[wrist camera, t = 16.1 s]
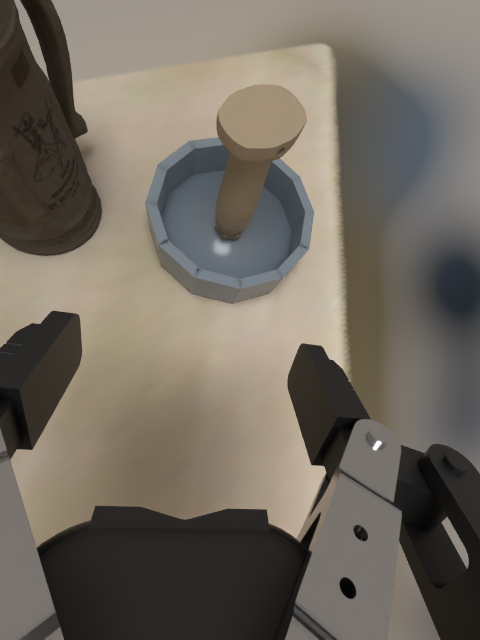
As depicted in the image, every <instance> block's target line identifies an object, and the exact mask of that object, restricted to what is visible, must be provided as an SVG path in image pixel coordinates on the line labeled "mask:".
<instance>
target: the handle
mask: <svg viewBox="0 0 480 640" xmlns="http://www.w3.org/2000/svg"><path fill="white" fill-rule="evenodd" d="M306 121H307V118H306V113H305V110H304V108H303V106H302V105H301V103H300V102H299V100H298V99H297V98H296V97H295V96H294V95H293V94H292V93H291V92H290V91H288V90H287V89H285V88H283V87H281V86H277V85H253V86H250V87H247V88H244V89H242V90H239V91H237V92H235V93H233V94H232V95H231V96H229V97H228V98H227V100H226V101H225V102H224V103H223V105H222V106H221V107H220V109H219V110H218V115H217V133H218V136H219V139H220V141H221V142H222V144H223V145H224V147H225V148H226V149H227V150H228V151H229V152H230V155H229V159H228V162H227V166H226V169H225V173H224V176H223V179H222V182H221V186H220V189H219V192H218V197H217V202H216V211H215V219H216V222H215V231H216V232H218V233H219V235H220V238H221V239H223V240H226V239H232V240H237V239H238V238H239V237H240V236H241V232H243V230H244V229H245V228H246V227H247V225H248V223H249V222H250V220H251V218H252V216H253V214H254V212H255V210H256V207H257V205H258V201H259V198H260V195H261V192H262V189H263V186H264V182H265V179H266V176H267V173H268V170H269V167H270V164H271V161H274V160H277V159H279V158H280V157H282V156H283V155H284V154H285V153H286V152H287V151H288V150H289V149H290V148H291V147H292V146H293V144H294V143H295V141H296V140H297V138H298V136H299V135H300V133H301V131H302V129H303V127H304V125H305V123H306Z"/></svg>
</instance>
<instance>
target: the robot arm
mask: <svg viewBox="0 0 480 640" xmlns="http://www.w3.org/2000/svg"><path fill="white" fill-rule="evenodd" d="M81 356H82V343H81V328H80V318H79V315H78V314H74V313H66V312H58V311H52V312H51V313H50V314H49V315H48V316H47V317H46V318H45V319H44V320H43V321H42V323H41V324H34V323H32V324H30V325H28V326H26V327H24V328H22V329H20V330H19V331H17V332H16V333H15V334H14V335H13V336H12V337H11V338H10V339H9V340H8V341H7V343H6V344H4V345H3V346H2V347H1V348H0V640H387V636H388V627H389V619H390V610H391V602H392V594H393V585H394V577H395V568H396V561H397V552H398V544H399V541H400V544H401V546H402V548H403V551H404V553H405V556H406V558H407V561H408V563H409V565H410V568H411V570H412V572H413V575H414V577H415V580H416V582H417V584H418V587H419V589H420V592H421V594H422V596H423V599H424V601H425V604H426V606H427V608H428V611H429V613H430V616H431V618H432V620H433V623H434V625H435V628H436V630H437V632H438V635H439V637H440V639H441V640H480V474H479V472H478V471H477V470H476V468H475V467H474V466H473V465H472V463H471V462H470V461H469V460H468V459H467V458H465V457H464V456H463V455H462V454H460V453H459V452H457V451H456V450H454V449H452V448H450V447H448V446H445V445H441V444H433V445H431V446H430V447H429V449H428V450H427V451H426V452H425V453H422V452H419V451H416V450H414V449H411V448H408V447H405V446H402V445H400V443H399V441H398V439H397V438H396V436H395V435H394V434H393V433H392V432H391V431H390V430H389V429H388V428H386V427H385V426H383V425H382V424H380V423H378V422H375V421H373V420H371V419H370V417H369V415H368V413H367V412H366V410H365V408H364V406H363V405H362V403H361V401H360V399H359V397H358V396H357V394H356V392H355V391H354V390H353V387H352V385H351V383H350V382H348V378H347V376H346V374H345V373H344V371H343V369H342V368H341V367H340V366H339V365H338V364H336V363H335V362H334V361H333V360H329V358H328V356H327V354H326V352H325V350H324V349H323V347H322V346H318V345H310V344H301V345H300V347H299V349H298V351H297V354H296V356H295V359H294V361H293V364H292V367H291V369H290V372H289V375H288V390H289V394H290V397H291V400H292V403H293V407H294V410H295V413H296V416H297V420H298V423H299V426H300V430H301V433H302V436H303V439H304V443H305V446H306V449H307V452H308V456H309V459H310V462H311V465H318V466H324V467H325V470H326V473H325V475H324V477H323V479H322V481H321V484H320V486H319V489H318V491H317V493H316V496H315V498H314V501H313V503H312V506H311V508H310V510H309V513H308V515H307V518H306V520H305V523H304V525H303V527H302V529H301V531H300V533H299V535H298V537H297V539H295V538H294V537H293V536H292V535H290V534H289V533H287V532H285V531H284V530H282V529H280V528H278V527H276V526H274V525H271V524H269V523H268V516H267V510H259V509H225V510H221V511H218V512H214V513H210V514H207V515H203V516H199V517H196V518H192V519H188V520H182V519H178V518H175V517H172V516H168V515H165V514H162V513H159V512H155V511H152V510H149V509H146V508H142V507H118V506H95V509H94V512H93V516H92V519H91V521H87V522H84V523H81V524H78V525H75V526H73V527H70V528H68V529H66V530H64V531H62V532H60V533H58V534H56V535H55V536H53V537H52V538H50V539H48V540H47V541H45V542H44V543H42V544H41V545H40V546H38V547H37V548H36V545H35V542H34V538H33V535H32V532H31V528H30V525H29V521H28V518H27V515H26V511H25V508H24V505H23V501H22V498H21V495H20V491H19V488H18V485H17V481H16V478H15V475H14V471H13V468H12V465H11V461H10V459H11V458H12V456H13V454H14V453H15V451H16V449H27V450H33V448H34V446H35V444H36V442H37V441H38V439H39V437H40V435H41V433H42V432H43V430H44V428H45V426H46V425H47V423H48V421H49V419H50V417H51V416H52V414H53V412H54V410H55V408H56V407H57V405H58V403H59V401H60V399H61V398H62V396H63V394H64V392H65V391H66V389H67V387H68V385H69V383H70V382H71V380H72V378H73V376H74V374H75V373H76V371H77V369H78V367H79V364H80V361H81ZM447 516H448V518H449V520H450V522H451V523H452V525H453V527H454V529H455V530H456V532H457V534H458V535H459V537H460V539H461V541H462V543H463V544H464V546H465V548H466V551H467V553H468V557H469V566H468V569H467V568H466V567H465V565H464V563H463V561H462V559H461V557H460V556H459V554H458V552H457V550H456V548H455V546H454V545H453V543H452V541H451V539H450V537H449V536H448V534H447V532H446V530H445V528H444V527H443V525H442V523H441V522H442V521H443V520H444V519H445V518H446V517H447Z"/></svg>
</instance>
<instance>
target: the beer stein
mask: <svg viewBox="0 0 480 640" xmlns="http://www.w3.org/2000/svg"><path fill="white" fill-rule="evenodd" d="M20 1H21V3H22V4H23V6H24V8H25V9H26V11H27V14H28V16H29V18H30V20H31V23H32V25H33V28H34V30H35V33H36V35H37V38H38V40H39V44H40V47H41V50H42V54H43V57H44V60H45V63H46V67H47V73H48V77H49V80H48V79H47V77H46V75H45V74H44V72H43V71H42V70H41V68H40V67H39V65H38V64H37V63H36V61H35V59H34V56H33V54H32V52H31V50H30V47H29V45H28V42H27V39H26V36H25V34H24V31H23V29H22V26H21V24H20V20H19V14H18V9H17V8H16V5H15V2H14V0H0V238H1V239H2V240H3V241H5V242H6V243H7V244H9V245H11V246H12V247H14V248H16V249H18V250H20V251H24V252H27V253H32V254H39V255H48V254H59V253H63V252H67V251H70V250H72V249H74V248H76V247H78V246H79V245H81V244H83V243H84V242H85V241H86V240H87V239H89V238H90V236H91V235H92V234H93V232H94V231H95V230H96V228H97V226H98V223H99V220H100V217H101V202H100V198H99V196H98V194H97V191H96V189H95V188H94V186H93V185H92V182H91V179H90V177H89V175H88V172H87V169H86V165H85V163H84V161H83V158H82V156H81V152H80V150H79V147H78V145H77V143H76V141H75V138H77V137H79V136H81V135H83V134H85V133H87V131H88V130H87V126H86V123H85V121H84V119H83V118H82V116H81V115H79V114H78V113H77V112H76V111H75V107H74V99H73V85H72V72H71V64H70V57H69V51H68V47H67V42H66V37H65V33H64V30H63V27H62V24H61V21H60V18H59V16H58V14H57V12H56V10H55V7H54V5H53V3H52V1H51V0H20ZM49 81H50V82H49Z"/></svg>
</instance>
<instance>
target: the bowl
mask: <svg viewBox="0 0 480 640" xmlns="http://www.w3.org/2000/svg"><path fill="white" fill-rule="evenodd" d="M229 155H230V152H229V151H228V150H227V149H226V148H225V147H224V145H223V144H222V142H221V141H220V139H219V137H217V138H209V139H201V140H193V141H189V142H187V143H186V144H185V145H183V146H182V147H181V148H179V149H178V150H177V151H175V152H174V153H173V154H171V155H170V156H169V157H167V158H166V159H165V160H163V161H162V162H161V163H159V164H158V166H157V169H156V172H155V175H154V178H153V181H152V185H151V188H150V191H149V194H148V197H147V200H146V208H147V214H148V220H149V226H150V231H151V234H152V237H153V240H154V244H155V247H156V250H157V253H158V257H159V260H160V263H161V266H162V267H163V268H164V269H165V270H166V271H167V272H168V273H170V274H171V275H172V276H173V277H174V278H175V279H176V280H177V281H178V282H179V283H181V284H182V285H183V286H184V287H185V288H186V289H187V290H188V291H189V292H190V293H192V294H195V295H199V296H203V297H207V298H211V299H215V300H219V301H223V302H227V303H231V304H232V303H236V302H240V301H243V300H247V299H250V298H254V297H258V296H261V295H265V294H268V293H270V291H271V290H272V289H273V288H274V287H275V286H276V285H277V284H278V283H279V282H280V281H281V279H282V278H283V277H284V276H285V275H286V274H287V273H288V272H289V271H290V269H291V268H292V267H293V266H294V265H295V264H296V263H297V262H298V261H299V260H300V258H301V257H302V256H303V255H304V254H305V253H306V252H307V251H308V250H309V245H310V238H311V231H312V224H313V217H314V211H313V208H312V206H311V203H310V201H309V198H308V196H307V193H306V191H305V189H304V186H303V184H302V181H301V179H300V176H299V175H297V174H296V173H295V172H294V171H293V170H292V169H291V168H290V167H289V166H288V165H286V164H285V163H284V162H283V161H282V160H281V159H280V158H279V159H277V160H274V161H271V164H270V167H269V170H268V173H267V176H266V179H265V182H264V186H263V189H262V192H261V195H260V198H259V201H258V205H257V207H256V210H255V212H254V214H253V216H252V218H251V220H250V222H249V223H248V225H247V227H246V228H245V229H244V230H243V232H241V236H240V237H239V238H238V239H237V240H232V239H226V240H223V239H221V238H220V235H219V233H218V232H216V231H215V222H216V219H215V211H216V202H217V197H218V192H219V189H220V186H221V182H222V179H223V176H224V173H225V169H226V166H227V162H228V159H229Z"/></svg>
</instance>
